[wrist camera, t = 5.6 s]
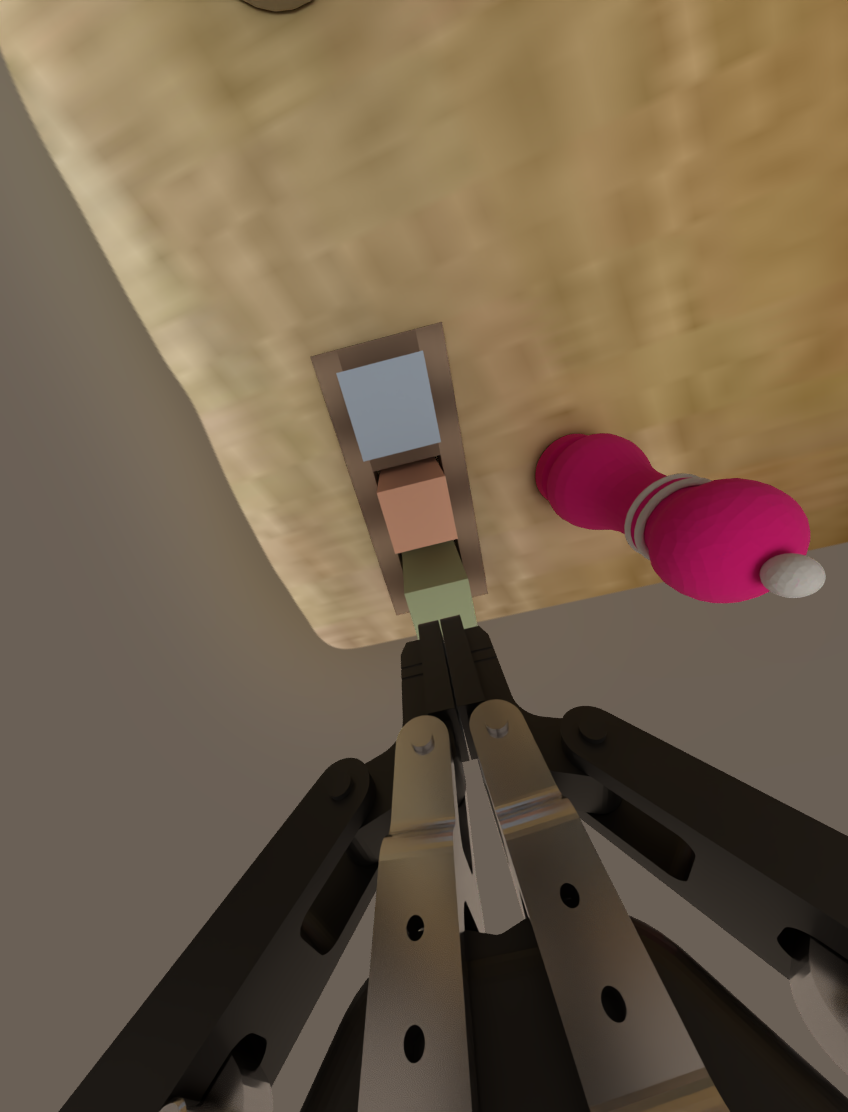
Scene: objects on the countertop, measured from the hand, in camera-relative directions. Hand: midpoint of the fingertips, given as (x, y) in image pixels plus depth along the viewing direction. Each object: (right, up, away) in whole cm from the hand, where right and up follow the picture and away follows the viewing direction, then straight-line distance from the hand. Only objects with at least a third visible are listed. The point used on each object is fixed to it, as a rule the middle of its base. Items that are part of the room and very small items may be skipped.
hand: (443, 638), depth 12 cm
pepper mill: (+12, +11, +19) cm, 25 cm away
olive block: (0, +2, +19) cm, 19 cm away
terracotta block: (-2, +9, +17) cm, 19 cm away
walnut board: (-2, +9, +18) cm, 20 cm away
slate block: (-3, +14, +13) cm, 19 cm away
